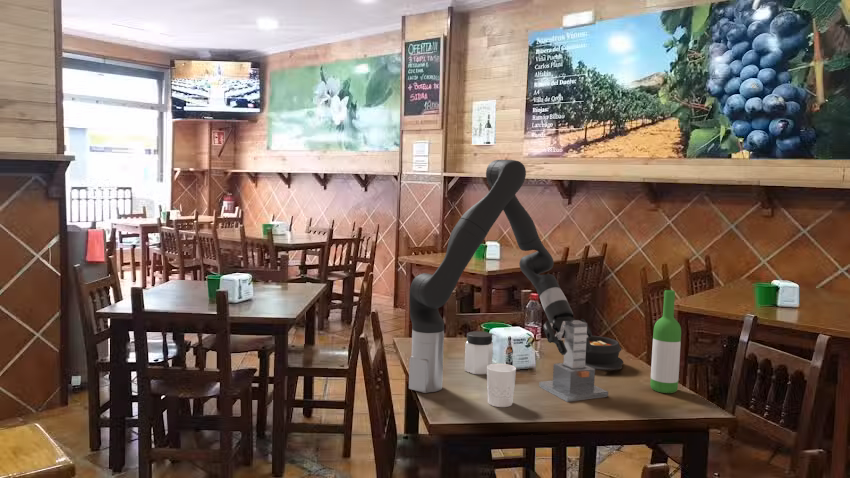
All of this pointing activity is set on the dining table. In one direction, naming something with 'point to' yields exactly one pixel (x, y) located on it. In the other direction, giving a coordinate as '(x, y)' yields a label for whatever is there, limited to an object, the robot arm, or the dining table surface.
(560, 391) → the stand base
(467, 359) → the jar
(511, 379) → the white cup
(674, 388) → the wine bottle
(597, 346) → the casserole
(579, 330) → the column
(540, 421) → the dining table surface
